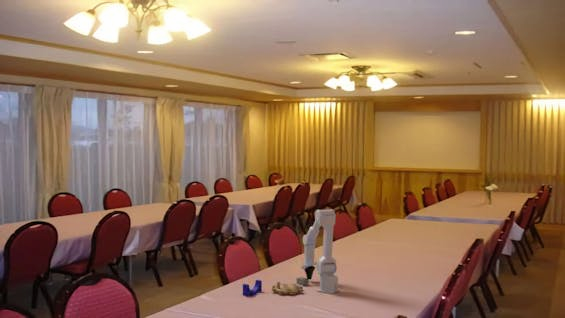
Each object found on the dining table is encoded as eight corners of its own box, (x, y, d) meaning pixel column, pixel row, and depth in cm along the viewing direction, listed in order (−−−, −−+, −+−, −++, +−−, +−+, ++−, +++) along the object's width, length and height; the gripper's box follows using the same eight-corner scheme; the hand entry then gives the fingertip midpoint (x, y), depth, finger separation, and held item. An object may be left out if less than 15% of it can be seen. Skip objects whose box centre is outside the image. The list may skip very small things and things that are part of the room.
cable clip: (249, 297, 290) (249, 285, 290) (242, 295, 293) (242, 284, 293) (263, 292, 300) (263, 281, 300) (257, 290, 303) (257, 279, 302)
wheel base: (303, 290, 303) (303, 289, 303) (291, 296, 292) (291, 295, 292) (283, 286, 310) (283, 286, 310) (270, 292, 299) (270, 291, 299)
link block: (308, 285, 314) (308, 278, 314) (303, 286, 312) (303, 280, 311) (301, 283, 319) (302, 276, 319) (296, 284, 316) (296, 277, 316)
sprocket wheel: (296, 285, 311) (296, 276, 311) (307, 292, 295) (307, 284, 295) (267, 287, 306) (267, 278, 306) (277, 295, 290) (277, 286, 290)
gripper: (309, 252, 329) (309, 275, 330) (296, 257, 317) (296, 280, 318) (320, 254, 325) (320, 277, 326) (307, 258, 313) (307, 282, 314)
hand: (309, 279), depth 322 cm, fingers closed
